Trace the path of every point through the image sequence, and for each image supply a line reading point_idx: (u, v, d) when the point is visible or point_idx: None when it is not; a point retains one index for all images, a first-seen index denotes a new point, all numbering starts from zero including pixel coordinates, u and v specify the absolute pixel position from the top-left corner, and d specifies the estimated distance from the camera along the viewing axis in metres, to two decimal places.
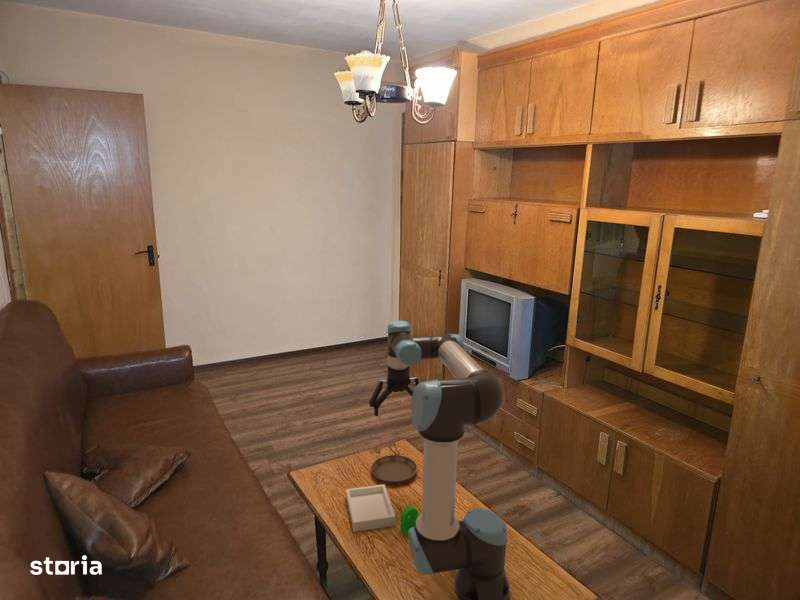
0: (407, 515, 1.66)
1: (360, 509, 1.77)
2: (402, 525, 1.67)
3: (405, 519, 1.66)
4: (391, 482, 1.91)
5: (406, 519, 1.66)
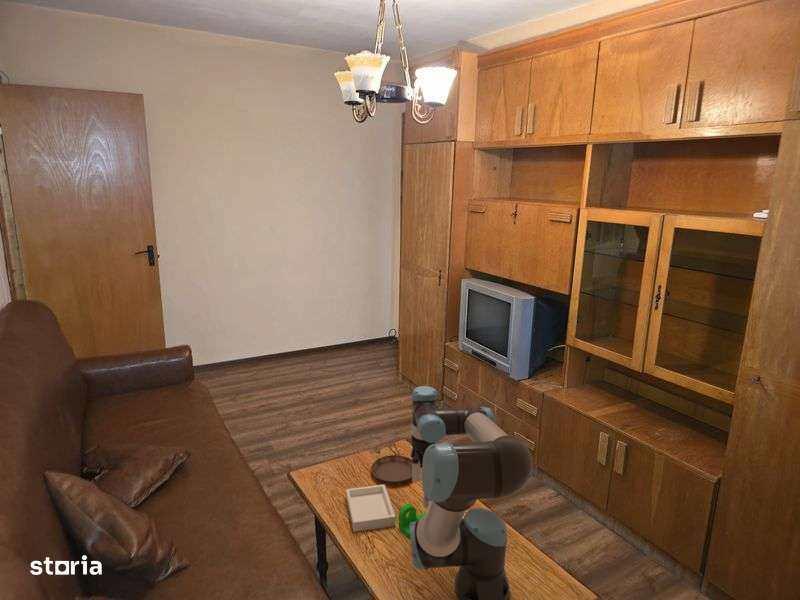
0: (405, 512, 1.67)
1: (360, 509, 1.77)
2: (400, 522, 1.69)
3: (402, 516, 1.67)
4: (391, 482, 1.91)
5: (404, 516, 1.68)
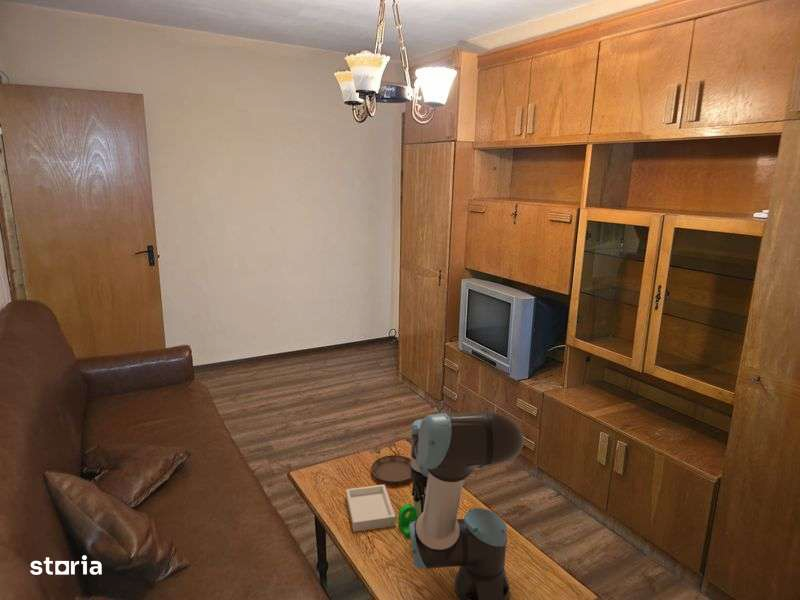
0: (404, 512, 1.68)
1: (360, 509, 1.77)
2: (399, 521, 1.69)
3: (401, 516, 1.67)
4: (391, 482, 1.91)
5: (403, 516, 1.68)
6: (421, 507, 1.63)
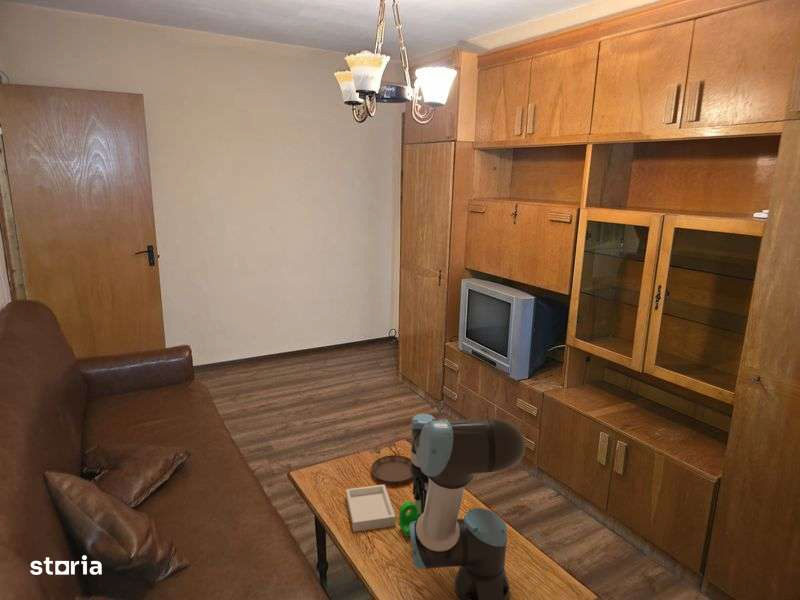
0: (405, 510, 1.66)
1: (360, 509, 1.77)
2: (400, 519, 1.68)
3: (402, 514, 1.66)
4: (391, 482, 1.91)
5: (403, 514, 1.67)
6: (421, 502, 1.63)
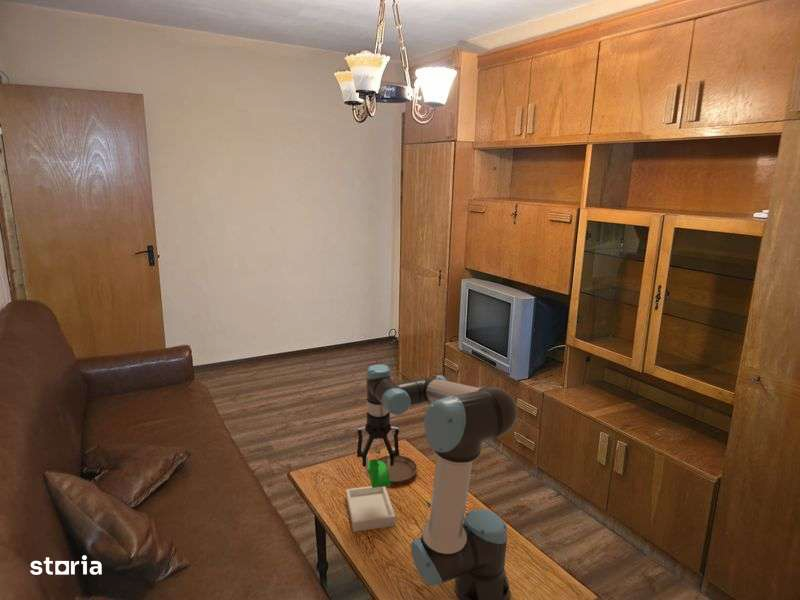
0: (377, 467, 1.66)
1: (360, 509, 1.77)
2: (374, 480, 1.65)
3: (378, 471, 1.65)
4: (391, 482, 1.91)
5: None
6: (389, 446, 1.69)
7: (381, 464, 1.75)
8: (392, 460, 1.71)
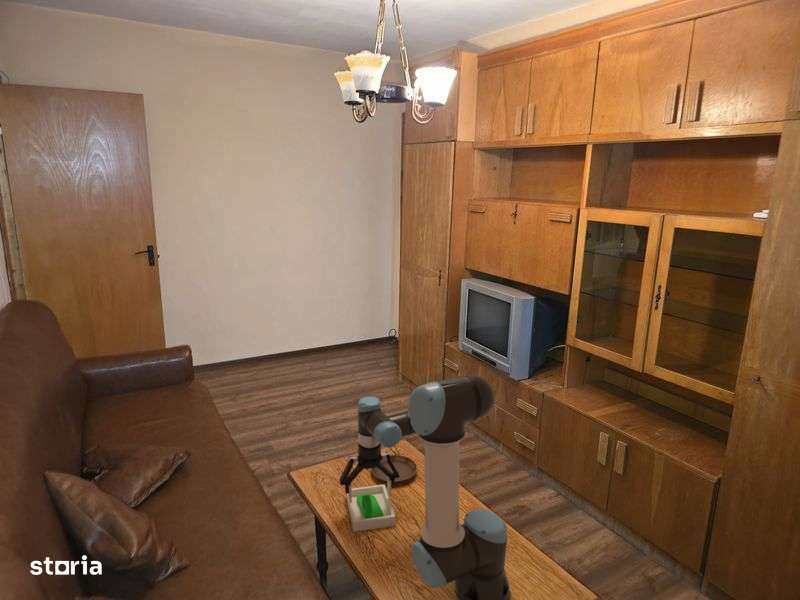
0: (370, 502, 1.70)
1: None
2: (368, 515, 1.70)
3: (371, 507, 1.70)
4: None
5: None
6: (386, 471, 1.74)
7: (371, 498, 1.80)
8: (392, 482, 1.76)
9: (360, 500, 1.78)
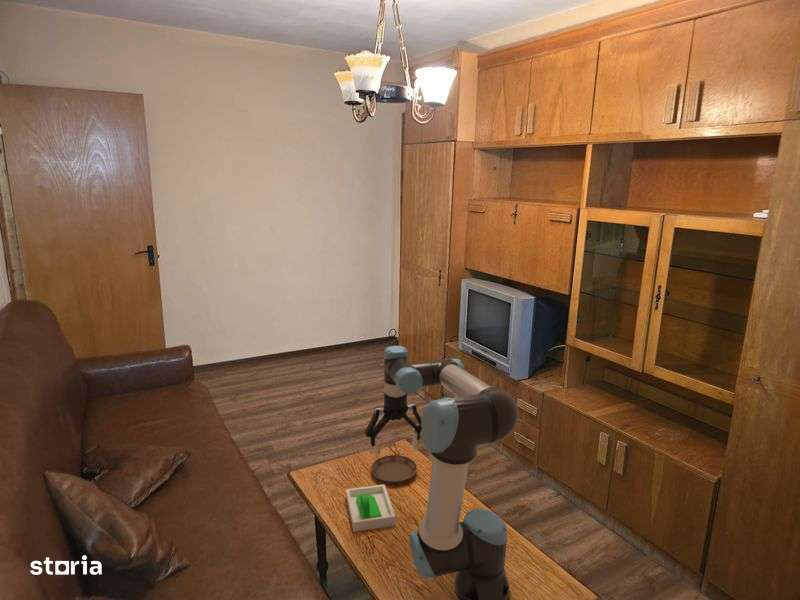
0: (368, 502, 1.70)
1: None
2: (365, 515, 1.70)
3: (369, 507, 1.70)
4: (391, 482, 1.91)
5: None
6: (412, 423, 1.71)
7: (370, 498, 1.80)
8: (418, 434, 1.73)
9: (359, 500, 1.78)
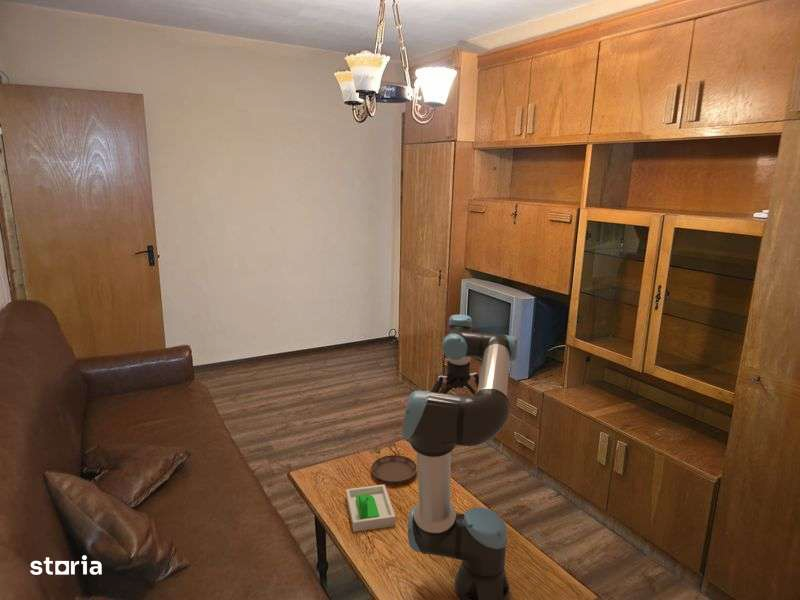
0: (366, 502, 1.70)
1: None
2: (363, 515, 1.70)
3: (367, 507, 1.69)
4: (391, 482, 1.91)
5: (367, 507, 1.70)
6: (473, 391, 1.74)
7: (370, 498, 1.79)
8: None
9: (358, 500, 1.79)
